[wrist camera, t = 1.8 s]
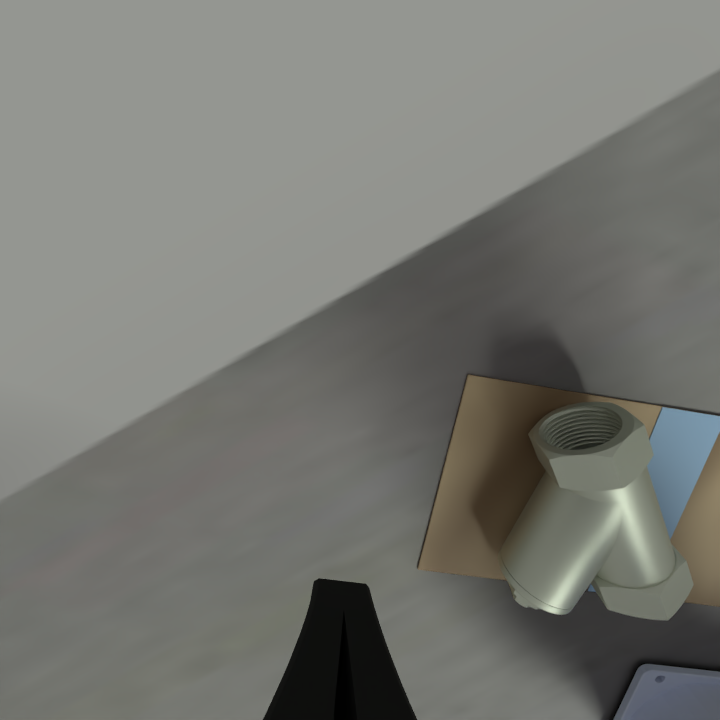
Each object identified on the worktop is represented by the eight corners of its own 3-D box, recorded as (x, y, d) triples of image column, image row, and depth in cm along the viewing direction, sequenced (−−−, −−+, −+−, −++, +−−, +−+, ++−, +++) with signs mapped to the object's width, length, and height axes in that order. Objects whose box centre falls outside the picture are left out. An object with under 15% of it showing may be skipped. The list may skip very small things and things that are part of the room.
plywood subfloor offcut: (884, 441, 17) (891, 444, 17) (785, 611, 19) (790, 616, 19) (466, 373, 16) (468, 375, 15) (417, 566, 18) (418, 570, 18)
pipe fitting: (506, 576, 19) (643, 533, 17) (538, 658, 15) (716, 610, 14) (446, 448, 17) (595, 390, 16) (465, 505, 13) (664, 434, 12)
